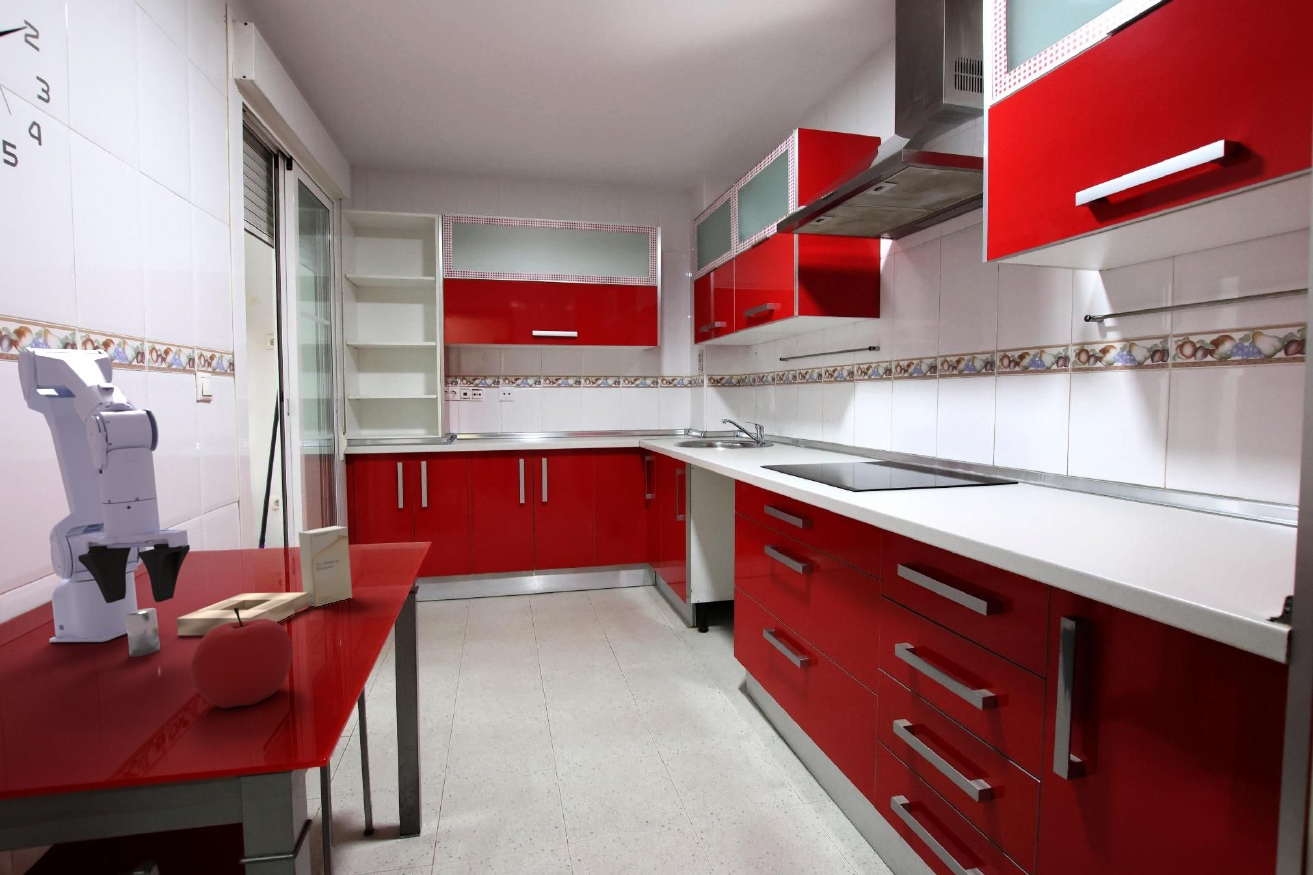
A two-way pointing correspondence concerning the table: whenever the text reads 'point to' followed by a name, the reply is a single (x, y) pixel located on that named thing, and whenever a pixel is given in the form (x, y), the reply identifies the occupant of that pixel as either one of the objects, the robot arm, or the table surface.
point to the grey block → (142, 632)
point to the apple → (241, 662)
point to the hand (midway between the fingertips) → (140, 600)
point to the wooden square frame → (242, 611)
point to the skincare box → (325, 564)
